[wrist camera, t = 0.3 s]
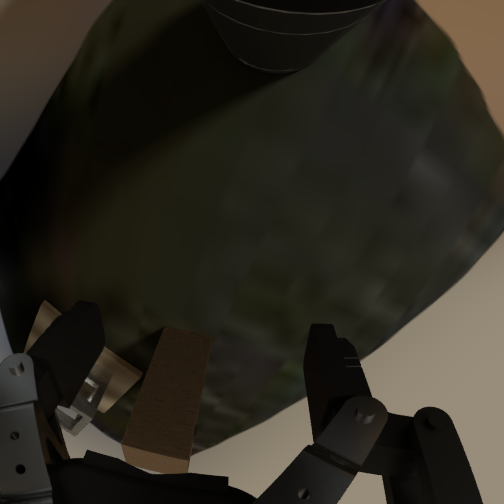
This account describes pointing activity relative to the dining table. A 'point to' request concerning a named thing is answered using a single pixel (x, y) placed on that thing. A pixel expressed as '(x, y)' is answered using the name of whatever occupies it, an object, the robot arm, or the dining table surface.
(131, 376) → the holder board
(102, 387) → the collar frame
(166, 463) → the tan wooden post
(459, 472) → the robot arm
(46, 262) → the dining table surface
